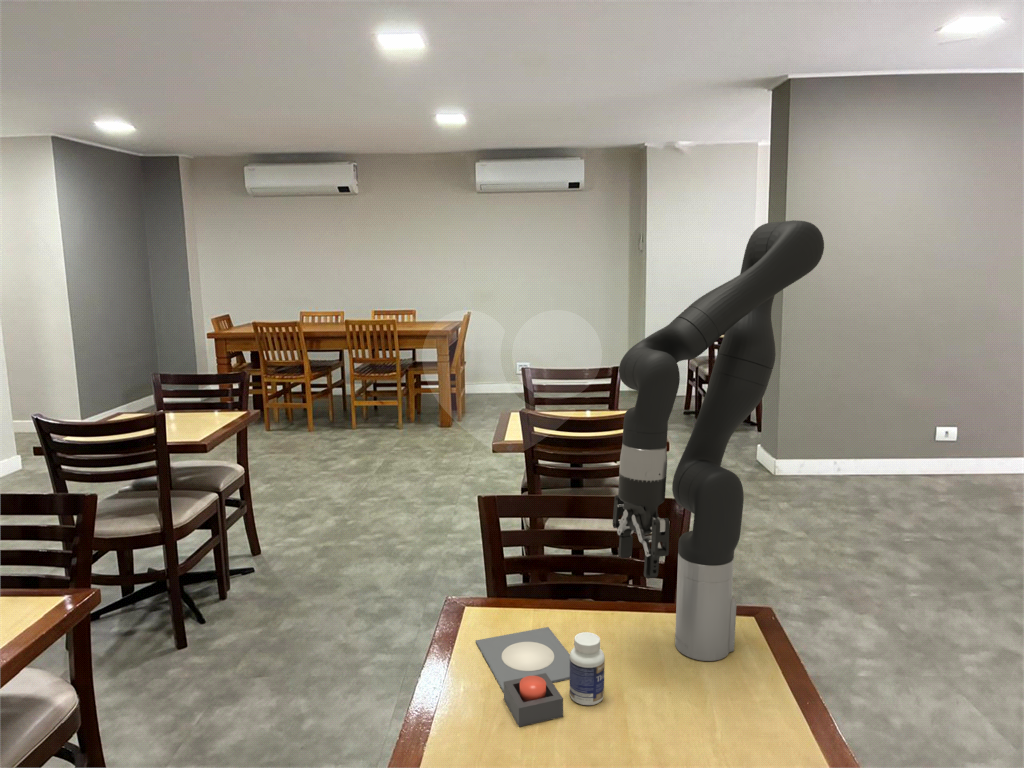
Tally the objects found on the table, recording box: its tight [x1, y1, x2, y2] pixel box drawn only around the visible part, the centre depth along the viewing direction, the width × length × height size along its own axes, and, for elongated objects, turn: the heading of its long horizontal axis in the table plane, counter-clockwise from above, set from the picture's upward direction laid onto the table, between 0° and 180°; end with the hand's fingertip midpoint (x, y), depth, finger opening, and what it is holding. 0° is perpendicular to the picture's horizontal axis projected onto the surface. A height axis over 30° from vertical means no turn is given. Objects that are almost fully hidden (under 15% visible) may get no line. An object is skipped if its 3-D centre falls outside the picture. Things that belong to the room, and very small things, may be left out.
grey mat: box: [475, 626, 570, 694], centre depth 120 cm, size 14×16×1 cm
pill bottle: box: [569, 631, 606, 706], centre depth 109 cm, size 5×5×10 cm
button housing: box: [503, 673, 564, 728], centre depth 107 cm, size 7×7×3 cm
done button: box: [520, 676, 546, 702], centre depth 106 cm, size 4×4×2 cm
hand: (637, 566), depth 116 cm, fingers open, 8 cm apart
